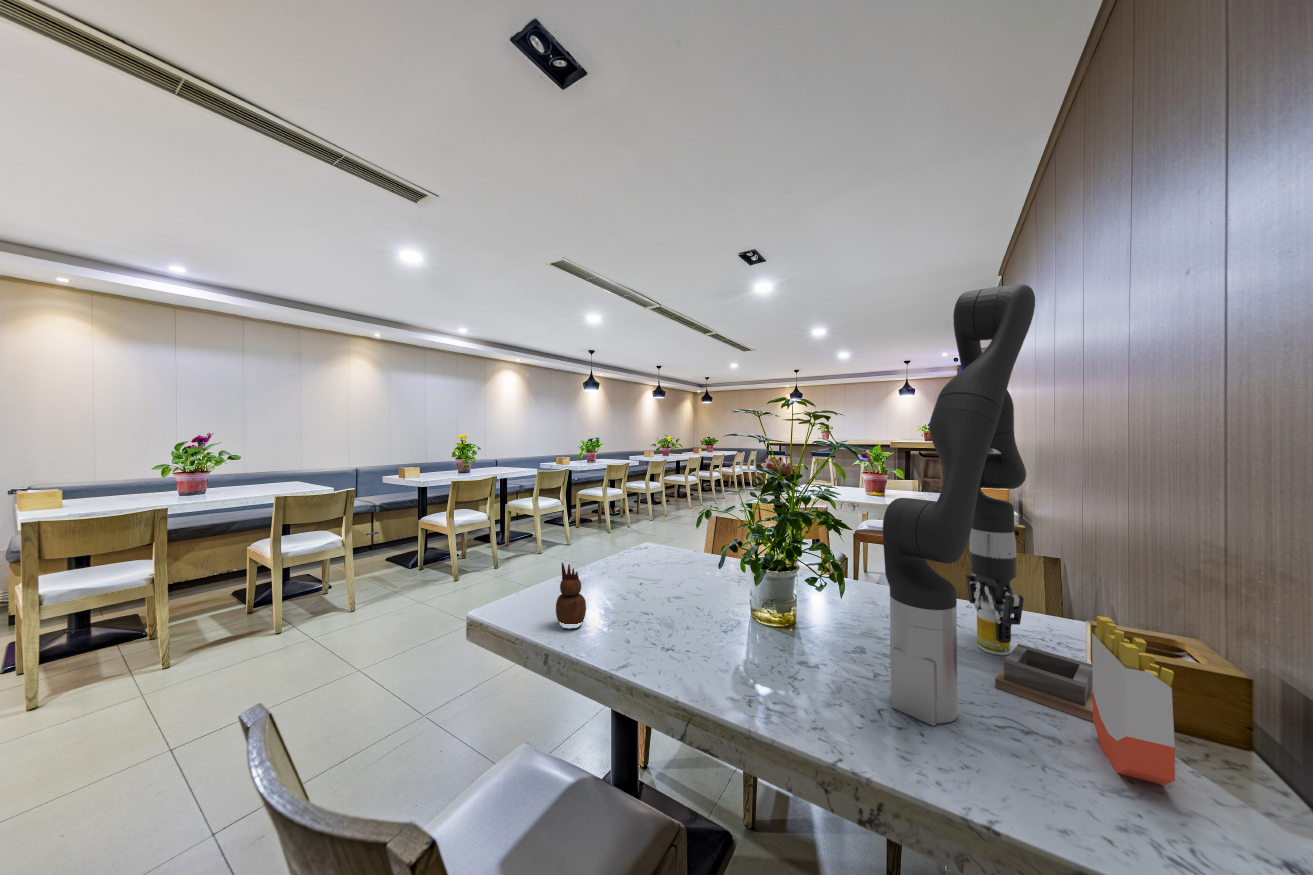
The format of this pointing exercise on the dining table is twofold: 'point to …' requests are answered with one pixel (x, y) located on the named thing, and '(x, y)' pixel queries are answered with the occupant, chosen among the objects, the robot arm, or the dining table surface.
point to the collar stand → (1049, 680)
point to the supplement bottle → (989, 631)
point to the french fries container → (1132, 706)
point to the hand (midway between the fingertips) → (993, 634)
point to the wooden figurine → (570, 599)
